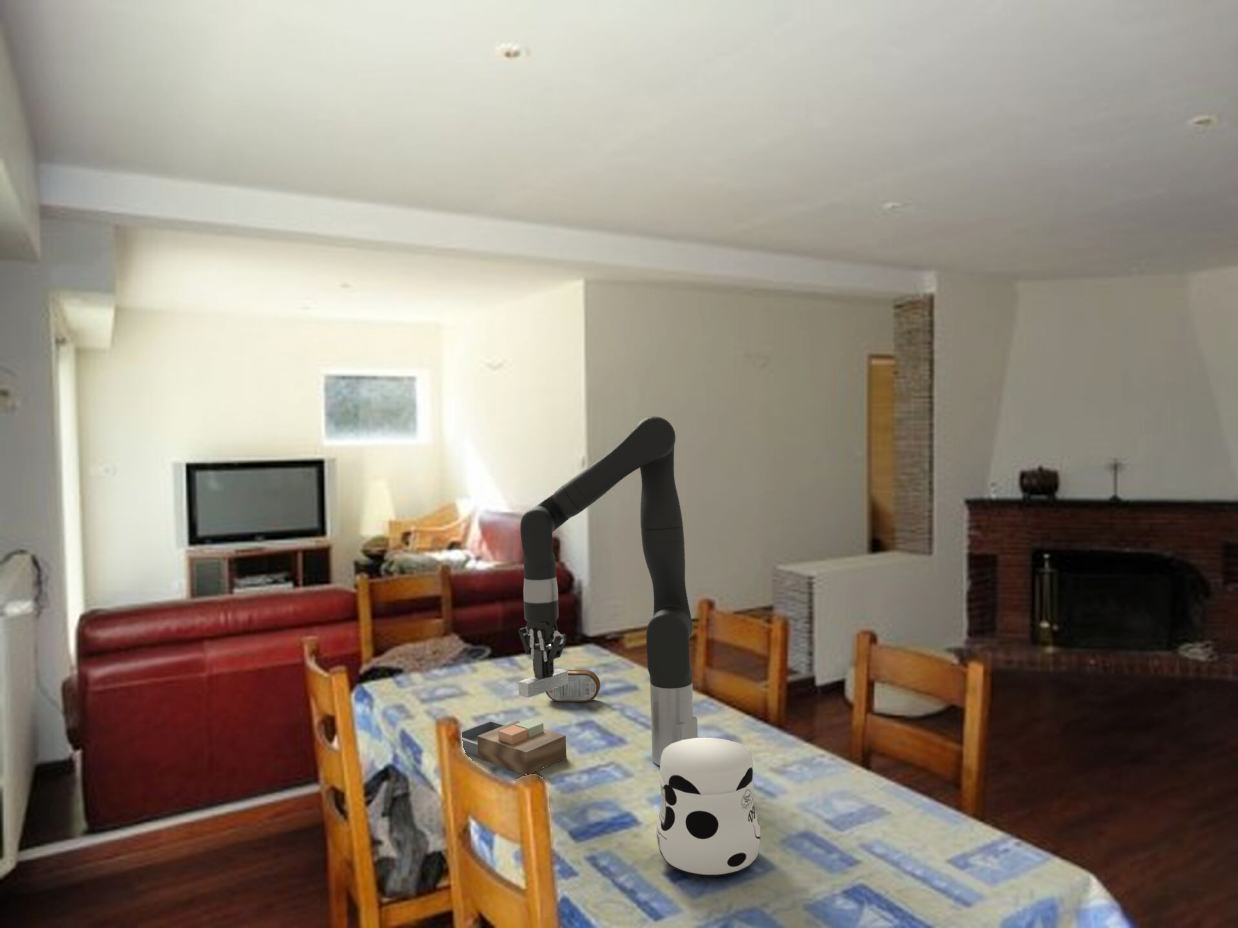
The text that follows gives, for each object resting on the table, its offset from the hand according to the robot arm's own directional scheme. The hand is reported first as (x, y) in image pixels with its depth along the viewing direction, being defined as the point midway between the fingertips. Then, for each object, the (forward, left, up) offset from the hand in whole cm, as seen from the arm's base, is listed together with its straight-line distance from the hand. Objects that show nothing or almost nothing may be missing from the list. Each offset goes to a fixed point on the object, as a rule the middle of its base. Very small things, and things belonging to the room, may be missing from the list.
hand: (543, 675), depth 183 cm
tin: (+24, -33, -19) cm, 45 cm away
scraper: (0, 0, -3) cm, 3 cm away
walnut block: (+6, +2, -19) cm, 20 cm away
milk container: (-52, +13, -19) cm, 57 cm away
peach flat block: (+6, +4, -14) cm, 16 cm away
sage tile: (+6, -1, -14) cm, 15 cm away
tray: (+19, +2, -19) cm, 27 cm away
